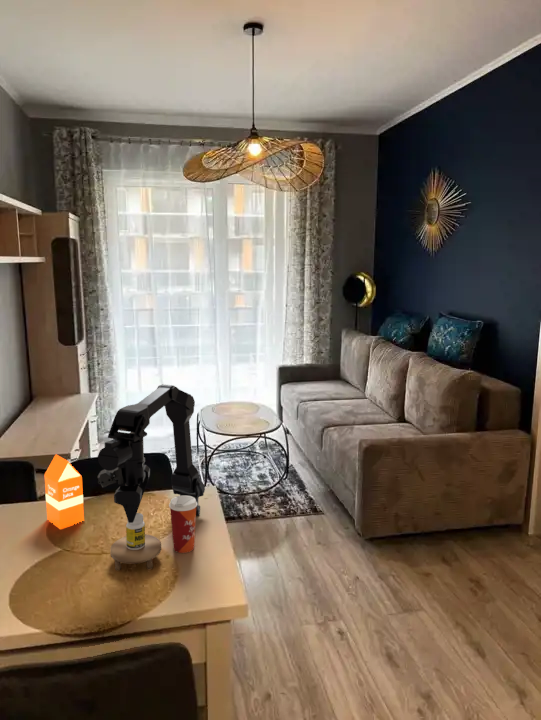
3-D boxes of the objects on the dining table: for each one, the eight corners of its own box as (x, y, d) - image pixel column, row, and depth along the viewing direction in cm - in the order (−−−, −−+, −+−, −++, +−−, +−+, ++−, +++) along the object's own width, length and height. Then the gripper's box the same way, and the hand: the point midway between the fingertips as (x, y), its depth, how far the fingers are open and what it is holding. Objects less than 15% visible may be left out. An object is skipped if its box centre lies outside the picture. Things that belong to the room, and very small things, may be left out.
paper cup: (192, 556, 148) (191, 507, 146) (165, 553, 150) (164, 504, 147) (201, 542, 156) (201, 495, 153) (176, 539, 157) (175, 493, 155)
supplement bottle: (135, 552, 142) (134, 522, 141) (122, 547, 145) (121, 517, 143) (149, 544, 146) (148, 514, 145) (136, 539, 149) (135, 510, 147)
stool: (116, 548, 152) (115, 534, 151) (164, 547, 153) (163, 533, 152) (106, 574, 139) (105, 560, 138) (158, 573, 140) (158, 558, 139)
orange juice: (71, 511, 173) (67, 451, 170) (84, 521, 167) (81, 458, 164) (46, 519, 168) (42, 457, 164) (59, 529, 162) (56, 465, 158)
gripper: (107, 445, 150) (109, 499, 152) (91, 471, 131) (93, 532, 134) (149, 445, 150) (150, 498, 153) (138, 470, 132) (140, 531, 135)
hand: (134, 514), depth 144 cm, fingers open, 9 cm apart
